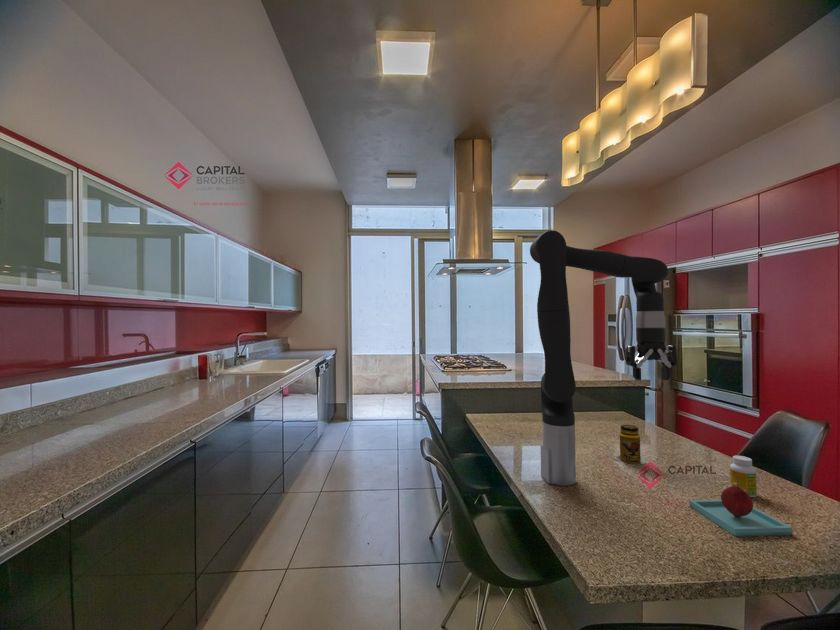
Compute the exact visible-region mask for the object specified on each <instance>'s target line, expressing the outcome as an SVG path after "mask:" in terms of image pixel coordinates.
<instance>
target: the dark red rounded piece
mask: <svg viewBox="0 0 840 630" xmlns="http://www.w3.org/2000/svg"><path fill="white" fill-rule="evenodd" d="M720 500H721V501H722V504H723V506H724V507H725V508H726V509H727V510H728V511H729V512H730V513H731V514H733V515H734V516H735V517H742V516H746V515H748V514H749V513H750V512H751V511H752V509H753V507H754V502H753V499H752V497H750V496H749V495H748V494H747V493H746V492H745V491H744V490H743V489H741V488H740V487H739V486H738V484H737V483H733V486H732V487H731V486H729V487H726V488H725V489H724V490H722V491H721V494H720Z"/></svg>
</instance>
